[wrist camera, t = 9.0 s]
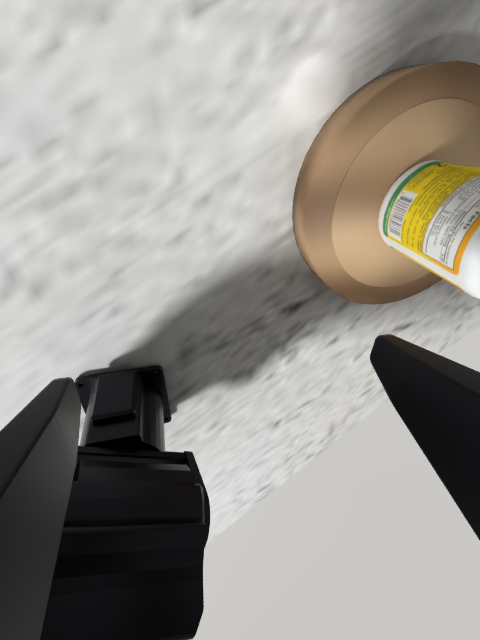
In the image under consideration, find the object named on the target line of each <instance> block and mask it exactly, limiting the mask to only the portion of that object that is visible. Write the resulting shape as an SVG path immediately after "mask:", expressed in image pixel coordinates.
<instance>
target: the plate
mask: <svg viewBox="0 0 480 640" xmlns="http://www.w3.org/2000/svg"><path fill="white" fill-rule="evenodd" d="M431 160H437V161H444V162H451V163H457V164H462V165H467V166H472V167H477V168H480V65H477V64H474V63H468V62H461V61H456V62H441V63H434V64H426V65H419V66H412V67H406V68H402V69H398V70H394V71H392V72H389V73H387V74H384V75H382V76H380V77H378V78H376V79H374V80H373V81H371V82H369V83H368V84H366V85H364V86H363V87H361V88H360V89H359V90H358V91H356V92H355V93H354V94H352V95H351V96H350V97H349V98H348V99H347V100H346V101H345V102H344V103H343V104H342V105H341V106H340V107H338V108H337V109H336V111H335V112H334V113H333V114H332V115H331V117H330V118H329V119H328V120H327V122H326V123H325V124H324V125H323V127H322V128H321V130H320V132H319V133H318V135H317V136H316V138H315V139H314V141H313V143H312V145H311V147H310V149H309V151H308V153H307V155H306V157H305V159H304V162H303V164H302V167H301V170H300V172H299V176H298V180H297V183H296V187H295V193H294V199H293V215H292V218H293V229H294V234H295V239H296V243H297V245H298V248H299V251H300V253H301V255H302V257H303V258H304V260H305V262H306V263H307V264H308V266H309V267H310V268H311V269H312V270H313V272H314V273H315V274H316V275H317V276H318V277H319V278H320V279H321V280H322V281H323V282H324V283H325V284H326V285H327V286H328V287H329V288H330V289H332V290H333V291H334V292H335V293H337V294H338V295H340V296H342V297H343V298H346V299H348V300H351V301H353V302H358V303H363V304H384V303H390V302H395V301H398V300H402V299H405V298H408V297H410V296H413V295H415V294H417V293H419V292H421V291H423V290H425V289H427V288H429V287H431V286H432V285H434V284H435V283H437V282H438V281H440V280H441V279H443V278H441V277H440V276H438V275H436V274H434V273H433V272H431V271H430V270H428V269H426V268H425V267H423V266H421V265H420V264H418V263H416V262H414V261H413V260H411V259H409V258H408V257H406V256H404V255H403V254H401V253H399V252H398V251H396V250H394V249H393V248H391V247H390V246H389V245H387V244H386V243H385V241H384V240H383V238H382V237H381V234H380V231H379V225H378V218H379V211H380V208H381V205H382V202H383V200H384V198H385V196H386V194H387V192H388V190H389V189H390V187H391V186H392V185H393V183H394V182H395V181H396V180H397V179H398V178H399V177H400V176H401V175H402V174H404V173H405V172H406V171H407V170H409V169H410V168H412V167H414V166H415V165H417V164H419V163H422V162H425V161H431Z"/></svg>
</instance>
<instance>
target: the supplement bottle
mask: <svg viewBox="0 0 480 640" xmlns="http://www.w3.org/2000/svg"><path fill="white" fill-rule="evenodd" d="M378 225H379V231H380V234H381V237H382V238H383V240H384V241H385V243H386V244H387V245H389V246H390V247H391V248H393V249H394V250H396V251H398V252H399V253H401V254H403V255H404V256H406V257H408V258H409V259H411V260H413V261H414V262H416V263H418V264H420V265H421V266H423V267H425V268H426V269H428V270H430V271H431V272H433V273H434V274H436V275H438V276H440V277H441V278H443V279H444V280H446V281H448V282H449V283H451V284H453V285H454V286H456V287H458V288H459V289H461V290H462V291H464V292H466V293H467V294H469V295H471V296H473V297H475V298H478V299H480V168H477V167H472V166H467V165H462V164H457V163H451V162H444V161H437V160H431V161H425V162H422V163H419V164H417V165H415V166H414V167H412V168H410V169H409V170H407V171H406V172H405V173H404V174H402V175H401V176H400V177H399V178H398V179H397V180H396V181H395V182H394V183H393V185H392V186H391V187H390V189H389V190H388V192H387V194H386V196H385V198H384V200H383V202H382V205H381V208H380V211H379V218H378Z"/></svg>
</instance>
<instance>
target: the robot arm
mask: <svg viewBox="0 0 480 640" xmlns="http://www.w3.org/2000/svg"><path fill="white" fill-rule="evenodd" d="M370 361H371V364H372V366H373V368H374V369H375V371H376V373H377V375H378V377H379V379H380V381H381V383H382V385H383V387H384V389H385V391H386V393H387V395H388V397H389V399H390V401H391V402H392V404H393V406H394V407H395V409H396V411H397V412H398V414H399V415H400V417H401V418H402V420H403V422H404V423H405V425H406V426H407V428H408V429H409V431H410V432H411V434H412V436H413V437H414V439H415V440H416V442H417V443H418V445H419V447H420V448H421V449H422V451H423V453H424V454H425V456H426V457H427V459H428V461H429V462H430V463H431V465H432V467H433V468H434V470H435V471H436V473H437V474H438V476H439V478H440V479H441V481H442V482H443V484H444V485H445V487H446V489H447V490H448V491H449V493H450V495H451V496H452V498H453V499H454V501H455V502H456V504H457V506H458V507H459V509H460V510H461V512H462V513H463V515H464V517H465V518H466V520H467V521H468V523H469V524H470V526H471V527H472V529H473V531H474V532H475V534H476V535H477V537H478V538H479V540H480V372H478V371H475V370H473V369H471V368H468V367H466V366H464V365H461V364H459V363H457V362H454V361H452V360H450V359H447V358H445V357H443V356H440V355H438V354H436V353H433V352H431V351H429V350H426V349H424V348H422V347H419V346H417V345H415V344H412V343H410V342H408V341H405V340H403V339H401V338H398V337H396V336H394V335H391V334H386V335H380V336H378V337H377V338H376V339H375V342H374V345H373V348H372V351H371V354H370ZM156 371H158V373H155V372H156ZM80 383H84V384H80ZM81 404H82V406H83V409H84V411H85V414H86V417H85V422H84V427H83V432H82V437H81V442H80V446H78V439H79V426H80V414H81ZM165 417H166V418H165ZM170 421H171V411H170V405H169V400H168V394H167V389H166V383H165V378H164V372H163V368H162V367H161V366H150V367H143V368H137V369H130V370H123V371H116V372H110V373H103V374H96V375H90V376H83V377H78V378H77V379H76V380H75V383H74V381H73V379H72V378H70V377H66V378H59V379H54V380H53V381H51V382H50V383H49V384H48V385H47V386H46V387H45V388H44V389H43V390H42V391H41V392H40V393H39V394H38V395H37V396H36V397H35V398H34V399H33V400H32V401H31V402H30V403H29V404H28V405H27V406H26V407H25V408H24V409H23V410H22V411H21V412H20V413H19V414H17V415H16V416H15V417H14V418H13V419H12V420H11V421H10V422H9V423H8V424H7V425H6V426H5V427H4V428H3V429H2V430H1V431H0V640H190V639H193V637H194V636H195V634H196V632H197V629H198V626H199V622H200V619H201V616H202V613H203V607H204V606H203V557H204V548H205V545H206V542H207V539H208V534H209V526H210V505H209V498H208V495H207V491H206V488H205V486H204V483H203V480H202V477H201V475H200V472H199V469H198V466H197V463H196V461H195V458H194V455H193V452H189V451H184V452H168V451H165V439H164V423H168V422H170Z"/></svg>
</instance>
